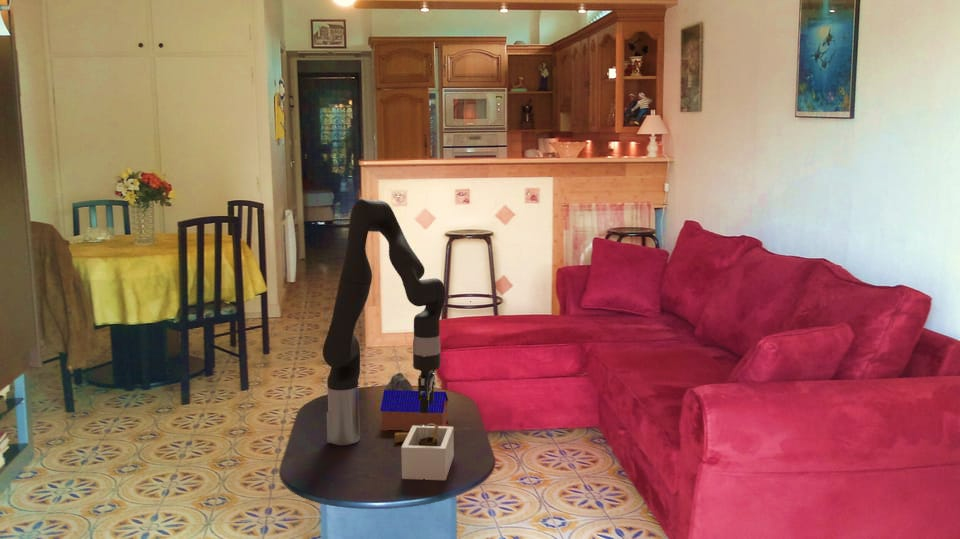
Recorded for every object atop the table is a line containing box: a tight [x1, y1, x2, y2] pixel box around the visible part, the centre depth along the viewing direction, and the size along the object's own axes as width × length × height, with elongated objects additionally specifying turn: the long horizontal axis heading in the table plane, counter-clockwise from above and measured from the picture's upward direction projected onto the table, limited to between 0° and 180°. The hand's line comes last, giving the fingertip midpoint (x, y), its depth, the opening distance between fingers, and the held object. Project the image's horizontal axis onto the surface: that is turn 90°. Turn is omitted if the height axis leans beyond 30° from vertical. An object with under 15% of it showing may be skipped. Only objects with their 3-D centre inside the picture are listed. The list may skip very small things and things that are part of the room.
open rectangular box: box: [400, 426, 455, 481], centre depth 234 cm, size 12×17×9 cm
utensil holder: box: [419, 425, 438, 446], centre depth 234 cm, size 6×6×12 cm
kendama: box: [394, 423, 452, 444], centre depth 253 cm, size 8×6×18 cm
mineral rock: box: [383, 372, 415, 391], centre depth 294 cm, size 13×11×10 cm
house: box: [380, 390, 449, 432], centre depth 268 cm, size 12×20×12 cm, turn 84°
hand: (427, 407), depth 232 cm, fingers open, 8 cm apart
